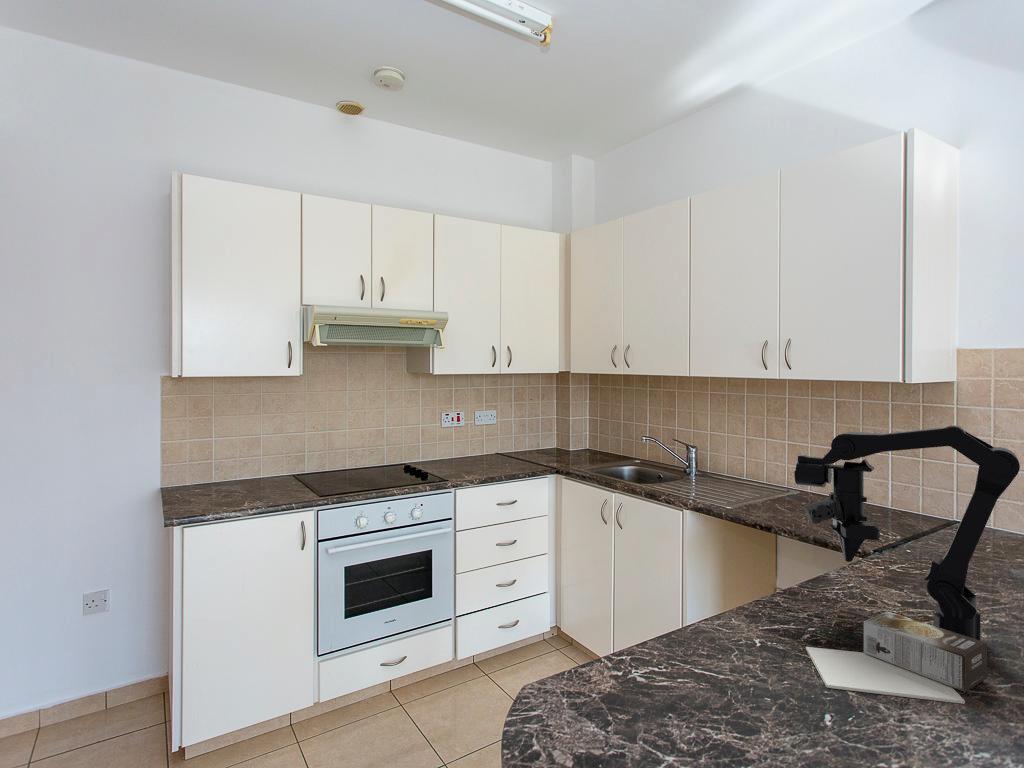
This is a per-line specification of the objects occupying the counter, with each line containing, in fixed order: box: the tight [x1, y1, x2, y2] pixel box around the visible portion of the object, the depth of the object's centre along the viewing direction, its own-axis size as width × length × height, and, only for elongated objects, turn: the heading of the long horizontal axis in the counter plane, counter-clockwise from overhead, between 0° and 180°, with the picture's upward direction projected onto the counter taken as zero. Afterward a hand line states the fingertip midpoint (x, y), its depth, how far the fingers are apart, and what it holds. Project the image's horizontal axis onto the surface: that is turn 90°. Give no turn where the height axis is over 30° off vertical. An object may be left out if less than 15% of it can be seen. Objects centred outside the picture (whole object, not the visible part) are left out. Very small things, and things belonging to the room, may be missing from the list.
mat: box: [805, 646, 966, 705], centre depth 101 cm, size 20×14×1 cm
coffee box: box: [863, 611, 988, 693], centre depth 103 cm, size 9×6×16 cm
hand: (848, 561), depth 126 cm, fingers closed
